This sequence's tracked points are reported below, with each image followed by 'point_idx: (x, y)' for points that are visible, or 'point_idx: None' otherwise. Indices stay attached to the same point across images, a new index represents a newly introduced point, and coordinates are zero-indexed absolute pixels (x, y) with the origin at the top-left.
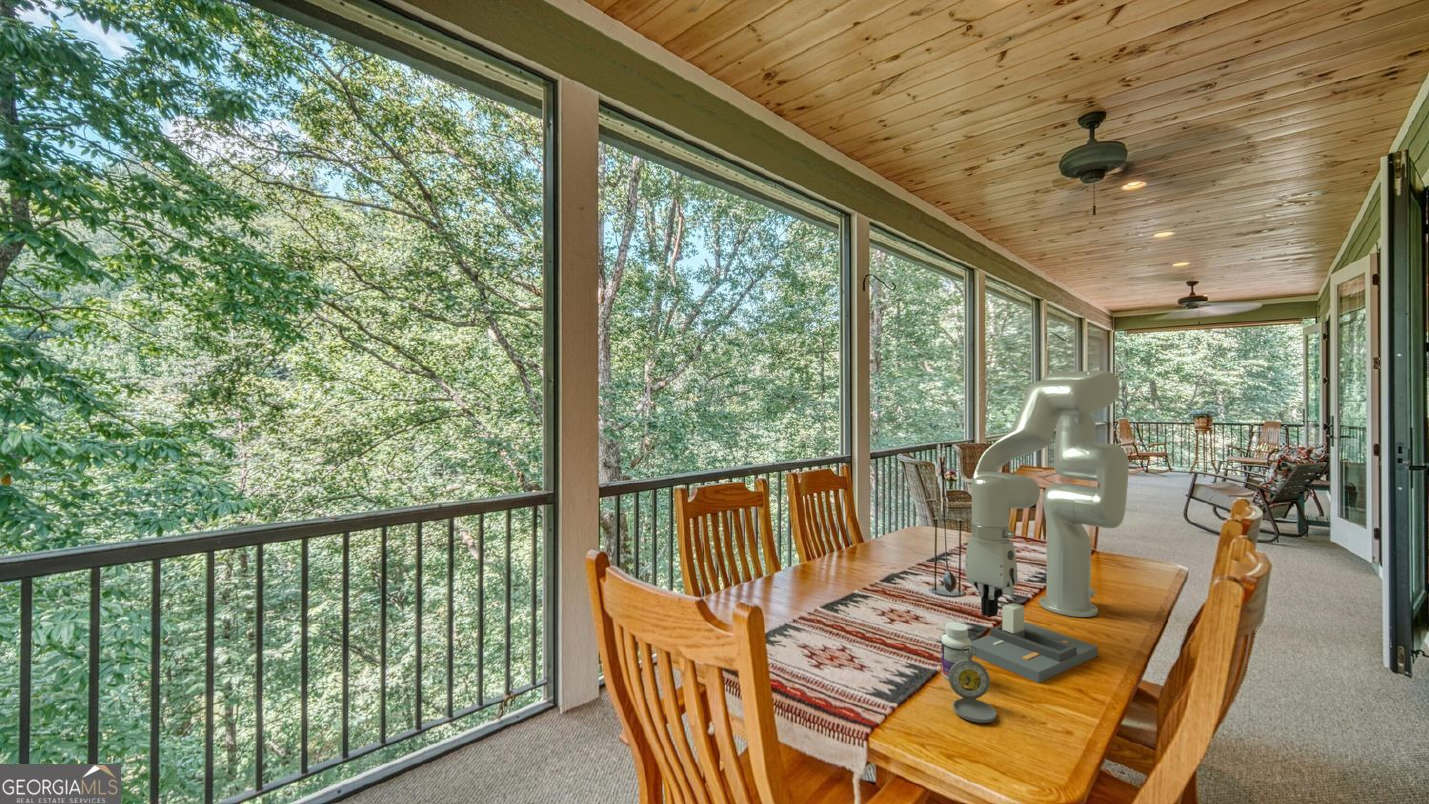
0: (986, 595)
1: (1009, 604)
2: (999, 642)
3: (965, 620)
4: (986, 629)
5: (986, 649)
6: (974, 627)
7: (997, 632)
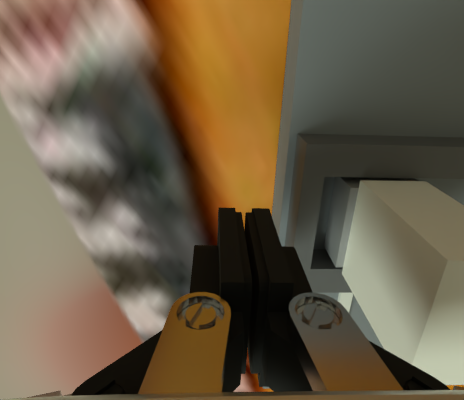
0: (239, 376)
1: (434, 322)
2: (347, 308)
3: (11, 80)
4: (159, 101)
5: None
6: (110, 131)
7: (325, 289)
